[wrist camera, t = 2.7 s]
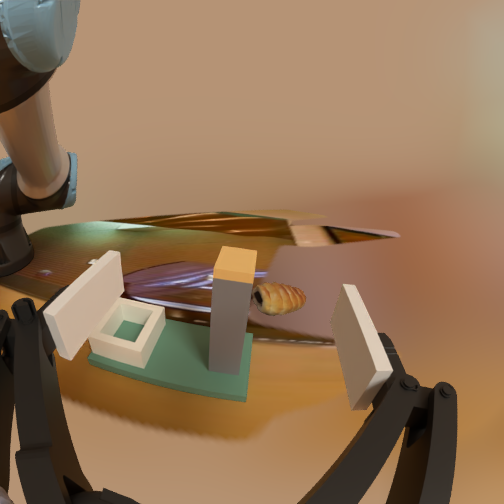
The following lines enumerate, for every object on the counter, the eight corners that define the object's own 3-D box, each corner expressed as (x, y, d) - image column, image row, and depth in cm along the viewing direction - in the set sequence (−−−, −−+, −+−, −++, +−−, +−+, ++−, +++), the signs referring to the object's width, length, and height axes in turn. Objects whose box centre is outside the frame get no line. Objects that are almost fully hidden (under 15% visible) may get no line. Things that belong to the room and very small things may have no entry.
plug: (208, 370, 30) (213, 268, 24) (215, 343, 34) (222, 245, 29) (238, 375, 30) (254, 274, 24) (242, 347, 34) (257, 250, 29)
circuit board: (89, 364, 28) (87, 357, 27) (122, 314, 38) (121, 308, 37) (245, 402, 28) (246, 396, 27) (251, 339, 38) (252, 333, 37)
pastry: (294, 291, 51) (298, 274, 50) (311, 313, 46) (317, 295, 44) (248, 296, 48) (250, 278, 46) (262, 320, 42) (265, 301, 41)
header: (92, 352, 28) (87, 335, 27) (120, 313, 36) (117, 296, 35) (144, 368, 28) (140, 351, 27) (165, 324, 36) (164, 307, 35)
